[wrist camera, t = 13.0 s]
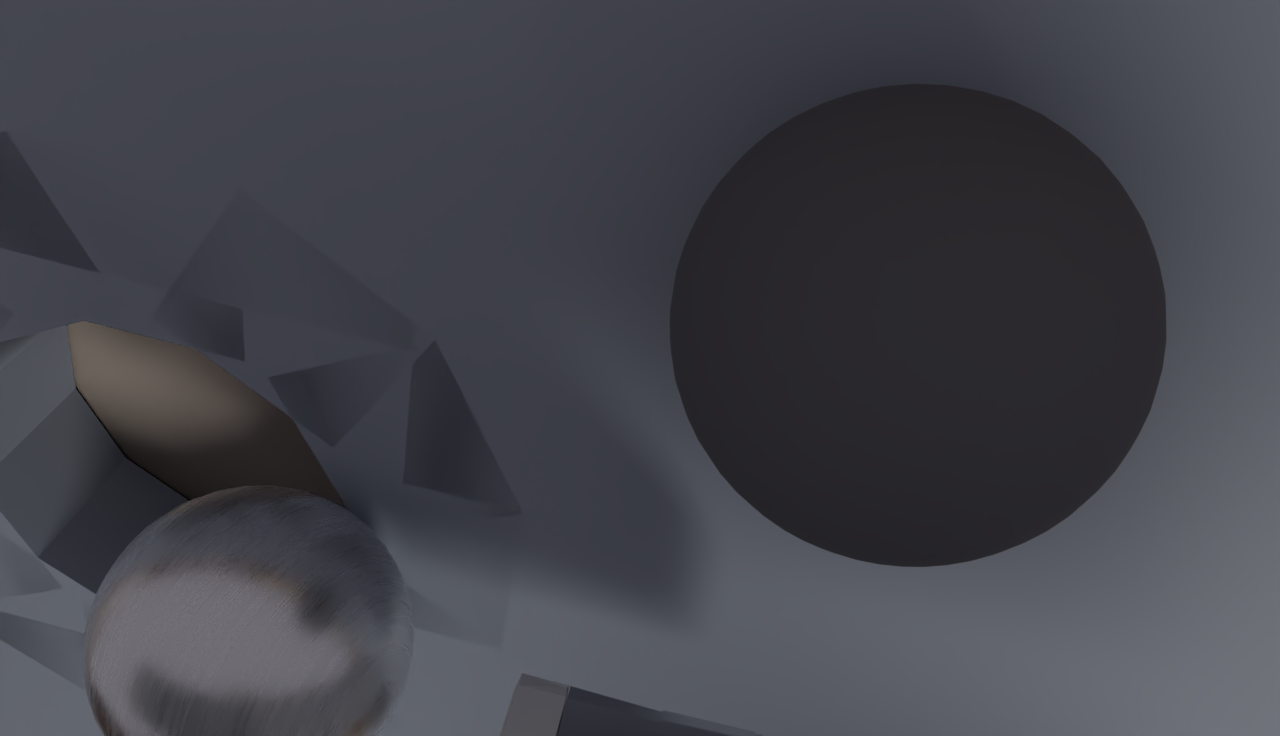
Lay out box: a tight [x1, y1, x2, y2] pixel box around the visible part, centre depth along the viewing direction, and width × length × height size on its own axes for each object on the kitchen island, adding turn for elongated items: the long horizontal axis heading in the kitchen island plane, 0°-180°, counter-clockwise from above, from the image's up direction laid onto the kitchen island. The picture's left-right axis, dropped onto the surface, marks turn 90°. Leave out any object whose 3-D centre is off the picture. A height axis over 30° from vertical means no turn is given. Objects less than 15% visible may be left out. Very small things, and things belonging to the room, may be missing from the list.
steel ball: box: [82, 485, 414, 736], centre depth 11 cm, size 3×3×3 cm
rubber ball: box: [670, 84, 1167, 567], centre depth 8 cm, size 3×3×3 cm
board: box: [0, 0, 1280, 736], centre depth 13 cm, size 20×16×2 cm
